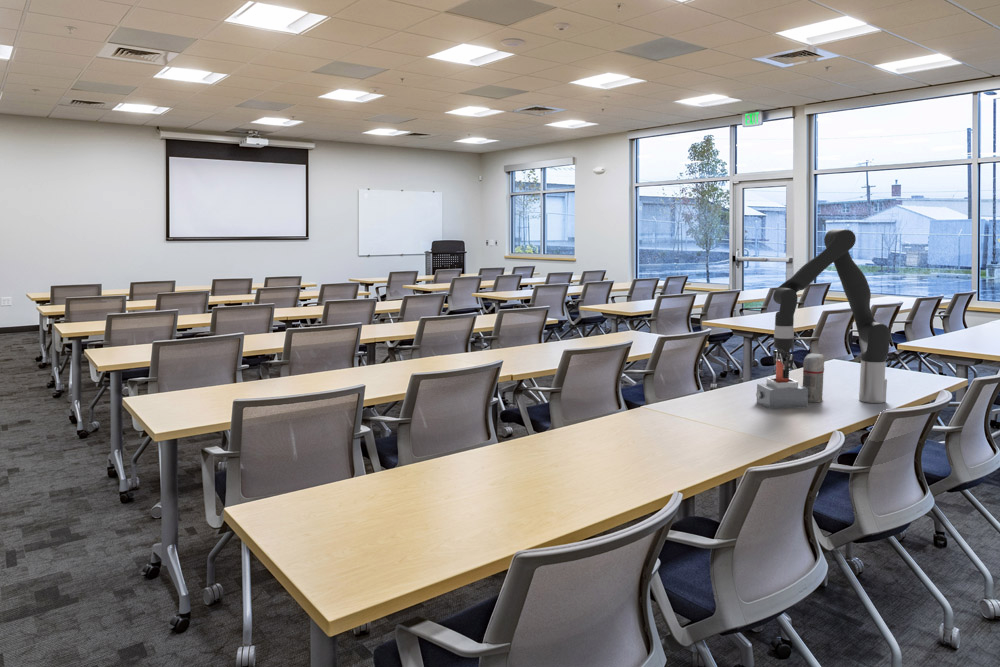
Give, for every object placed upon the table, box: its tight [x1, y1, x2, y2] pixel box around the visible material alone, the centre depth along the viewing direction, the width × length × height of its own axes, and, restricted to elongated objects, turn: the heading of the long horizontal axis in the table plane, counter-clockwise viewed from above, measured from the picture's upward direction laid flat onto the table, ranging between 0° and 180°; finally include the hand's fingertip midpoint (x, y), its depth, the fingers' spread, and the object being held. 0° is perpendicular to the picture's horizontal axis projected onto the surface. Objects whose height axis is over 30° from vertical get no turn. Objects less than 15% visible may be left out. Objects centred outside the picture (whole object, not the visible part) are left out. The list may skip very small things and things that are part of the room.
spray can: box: [802, 352, 826, 403], centre depth 301 cm, size 8×8×20 cm
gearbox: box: [755, 377, 808, 410], centre depth 296 cm, size 17×12×10 cm
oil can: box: [775, 357, 790, 382], centre depth 294 cm, size 5×5×11 cm
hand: (782, 376), depth 295 cm, fingers closed on oil can, 5 cm apart
